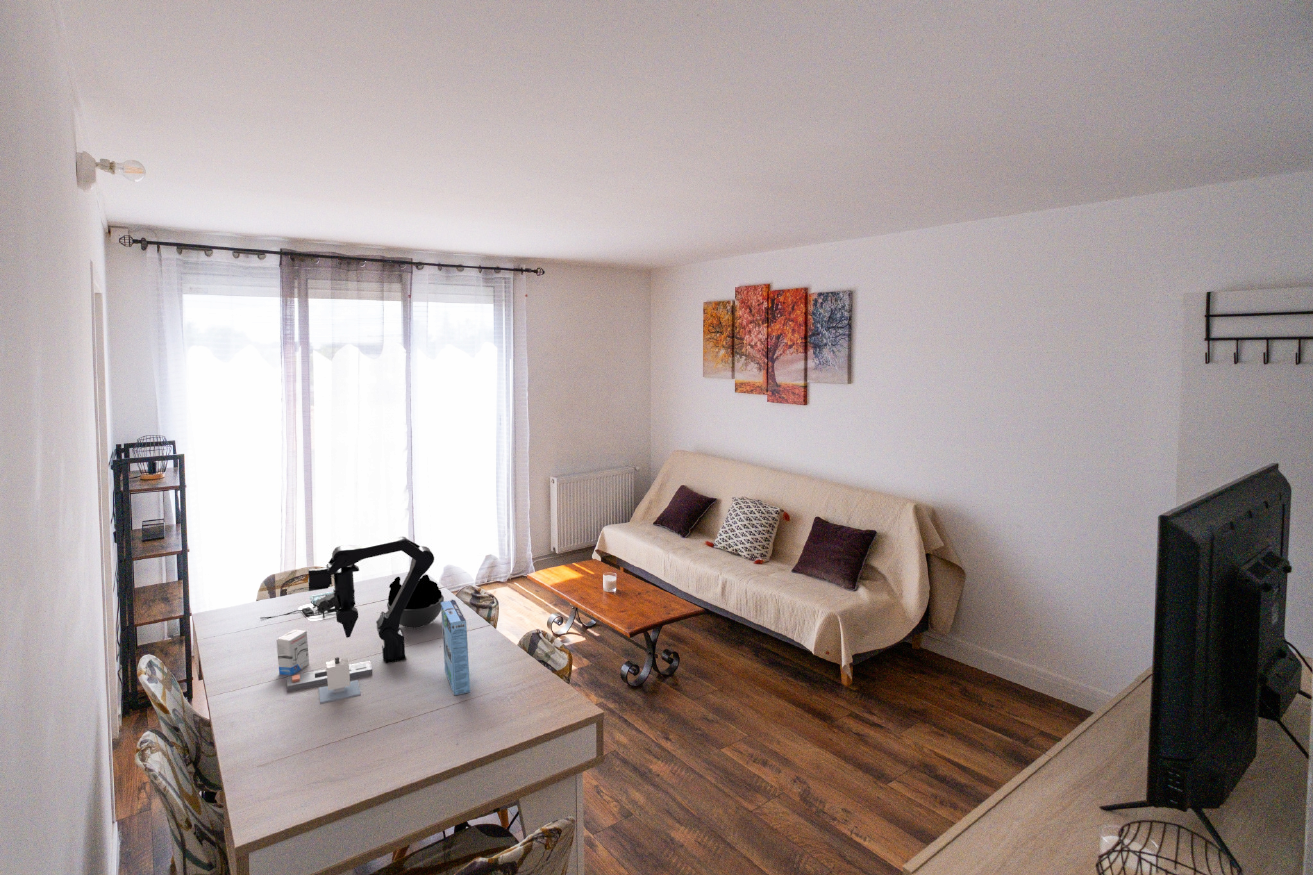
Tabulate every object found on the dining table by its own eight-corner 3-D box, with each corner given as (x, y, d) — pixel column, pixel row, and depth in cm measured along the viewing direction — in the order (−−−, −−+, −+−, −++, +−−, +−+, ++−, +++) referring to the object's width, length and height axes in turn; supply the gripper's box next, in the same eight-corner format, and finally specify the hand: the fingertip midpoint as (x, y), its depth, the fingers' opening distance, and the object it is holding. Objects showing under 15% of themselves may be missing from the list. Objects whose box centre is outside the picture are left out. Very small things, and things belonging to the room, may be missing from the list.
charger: (349, 685, 216) (347, 653, 215) (350, 691, 212) (348, 659, 211) (328, 689, 213) (325, 657, 212) (328, 696, 210) (326, 663, 208)
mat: (357, 681, 220) (357, 679, 220) (360, 695, 211) (360, 693, 211) (318, 689, 215) (318, 687, 215) (320, 704, 206) (319, 702, 206)
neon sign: (256, 606, 274) (336, 589, 293) (257, 616, 274) (336, 599, 293) (268, 622, 258) (352, 603, 276) (269, 633, 258) (352, 613, 277)
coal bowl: (456, 622, 266) (454, 574, 264) (412, 641, 249) (409, 590, 247) (421, 612, 277) (418, 565, 274) (377, 629, 260) (374, 580, 258)
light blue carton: (470, 692, 212) (467, 620, 209) (453, 696, 210) (449, 623, 207) (459, 666, 230) (456, 599, 227) (443, 669, 228) (440, 601, 225)
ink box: (291, 675, 224) (289, 640, 222) (278, 674, 225) (275, 639, 223) (310, 663, 232) (307, 629, 231) (297, 662, 233) (294, 628, 232)
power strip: (370, 666, 230) (369, 658, 230) (372, 675, 224) (371, 666, 224) (287, 682, 219) (286, 674, 219) (287, 692, 213) (286, 683, 213)
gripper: (315, 581, 231) (318, 626, 233) (317, 599, 214) (320, 647, 216) (352, 575, 236) (355, 620, 238) (356, 593, 219) (359, 640, 221)
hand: (347, 632), depth 228 cm, fingers open, 9 cm apart
